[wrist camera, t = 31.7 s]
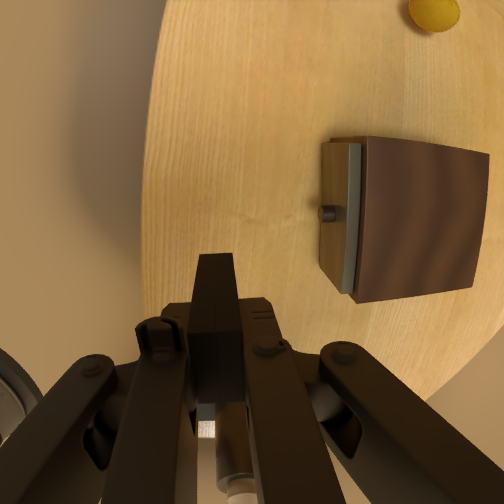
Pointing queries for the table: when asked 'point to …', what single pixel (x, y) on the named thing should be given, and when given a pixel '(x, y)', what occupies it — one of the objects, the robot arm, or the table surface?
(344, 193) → the drawer
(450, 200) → the cabinet
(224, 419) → the thermos bottle
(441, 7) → the lemon
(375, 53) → the table surface
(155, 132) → the table surface
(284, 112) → the table surface
